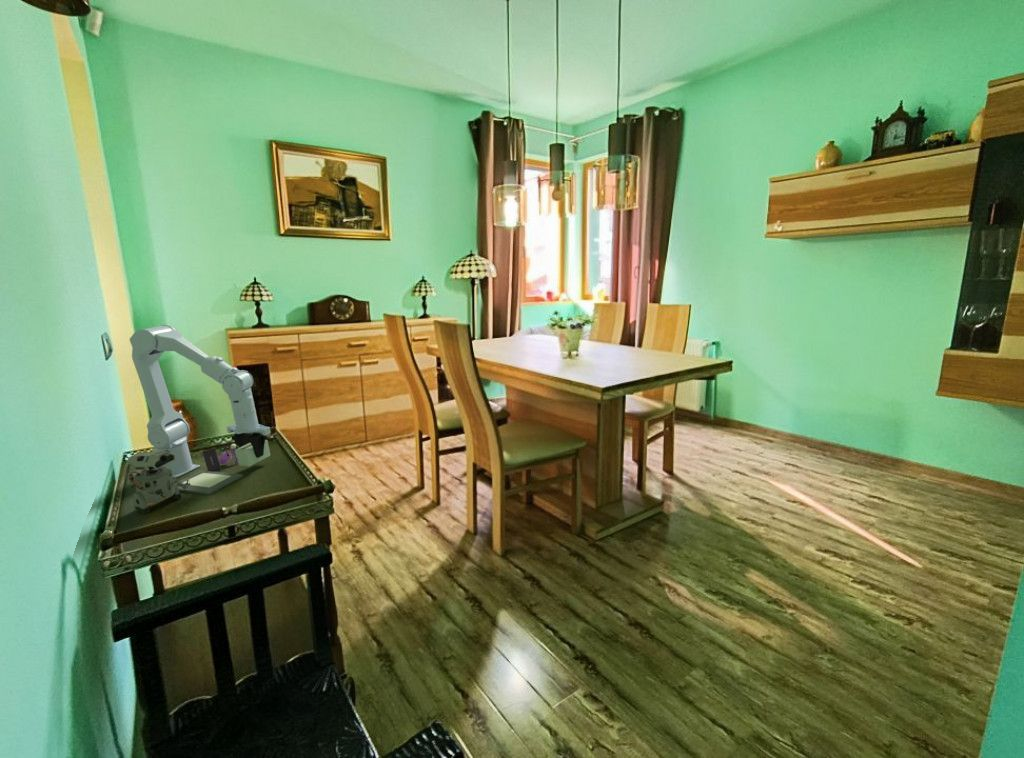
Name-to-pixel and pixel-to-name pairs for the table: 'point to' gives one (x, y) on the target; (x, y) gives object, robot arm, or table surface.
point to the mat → (208, 481)
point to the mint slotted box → (250, 454)
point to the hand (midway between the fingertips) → (254, 455)
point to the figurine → (153, 478)
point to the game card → (225, 457)
